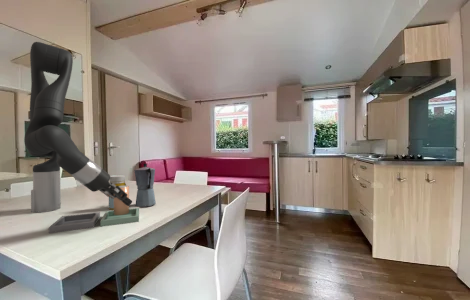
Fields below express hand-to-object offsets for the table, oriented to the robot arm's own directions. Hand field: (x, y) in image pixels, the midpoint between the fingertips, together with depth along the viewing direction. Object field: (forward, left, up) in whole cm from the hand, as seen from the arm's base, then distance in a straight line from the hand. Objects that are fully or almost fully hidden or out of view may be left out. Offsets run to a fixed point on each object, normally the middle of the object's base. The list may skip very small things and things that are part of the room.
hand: (126, 202), depth 83 cm
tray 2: (-2, -1, -6) cm, 7 cm away
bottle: (-5, +17, -7) cm, 19 cm away
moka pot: (+7, +18, -7) cm, 21 cm away
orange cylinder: (-2, -1, -4) cm, 4 cm away
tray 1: (-16, -1, -6) cm, 17 cm away
